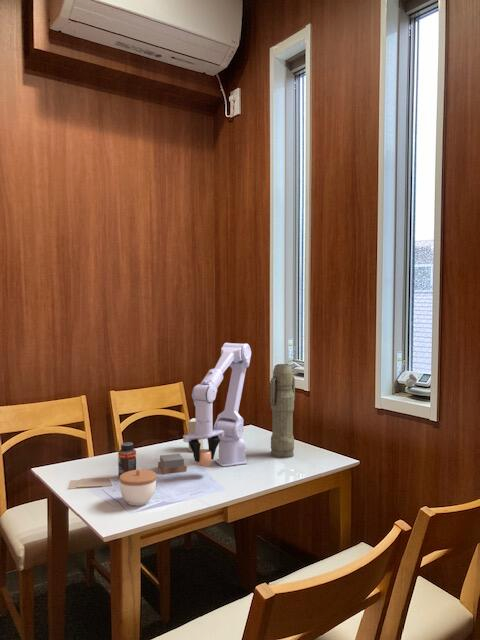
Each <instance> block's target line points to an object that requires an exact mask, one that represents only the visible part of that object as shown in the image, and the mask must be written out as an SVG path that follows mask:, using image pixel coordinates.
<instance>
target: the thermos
mask: <svg viewBox="0 0 480 640" xmlns="http://www.w3.org/2000/svg"><path fill="white" fill-rule="evenodd" d="M293 373H294V372H293V369H292V367H291V365H290V364H289V363H277V364H276V365H274V367H273V371H272V377H271V379H270V381H269V382H270V383H269V387H270V389H269V395H270V396H269V399H270V401H269V402H270V407H271V411H272V412H271V413H272V414H271V415H272V416H271V417H272V418H271V419H272V421H271V422H272V423H271V424H272V425H271V426H272V431H271V433H272V434H271V437H270V449H271V451H270V452H271V453H270V455H271V457H273V458H278V459H289V458H292V457H294V450H295V437H294V434H293V433H294V432H293V431H294V430H293V426H294V425H293V424H294V423H293V421H294V419H293V418H294V417H293V414H294V410H295V401H296V379H295V377H294V376H293Z"/></svg>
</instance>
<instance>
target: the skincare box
mask: <svg viewBox="0 0 480 640" xmlns="http://www.w3.org/2000/svg"><path fill="white" fill-rule="evenodd" d="M187 423H188V424H187V425H188V427H187V429H188V433H187V435H188V434H191V433H195V432H196V417H195V418H194V417H193V418H191V419H189V420H188V422H187ZM198 441H199V443H201V445H200V449H202V448H203V449H204V439H200V440H198ZM188 452H190V453H193V451H192V449H191V447H190V445H189V444H188Z"/></svg>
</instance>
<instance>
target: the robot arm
mask: <svg viewBox="0 0 480 640" xmlns="http://www.w3.org/2000/svg"><path fill="white" fill-rule="evenodd" d="M220 349H221V350H220V357H219V359H218V360H217V362H216V364H215V366H214V368H211V369H209V370H208V372H207V373H206V374H205V376H204V377H203V379H202V381H201V382H200V383H198V384H197V385H195V386H194V387H193V388H192V393H191V398H192V400H193V405H194V407H195V418H196V432H195V433H191V434H188V433H187V434H183V435H182V437H183V438H182V439H183V443H188V446H189V445H190V447H191V449H192V451H193V452H192V454H193V459H194V462H196V463H197V462H199V459H200V457H199V452H200V445H201V443H199V441H198V440H200V439H203V440H206V439H207V445H208V449H209V450H211V461H213V460H214V462H215V463H217V464H218V465H219V466H220V467H222V468H224V467H231V466H236V465H246V464H247V462H246V442H245V439H244V438H243V437H242V436H243V433H244V418H243V417H242V416H241V415H240V413H239V409H240V403H241V399H242V393H243V388H244V383H245V377H246V373H247V372H246V371H247V368H249V367H250V363H251V357H252V349H251V347H250V345H249V343H237V342H236V343H232V342H225V343H224V344H222V347H221V348H220ZM229 367H230V368H231V375H230V380H229V385H228V389H227V390H228V391H227V395H226V399H225V406H224V409H223V411H221V412H220V413H219V414H218V415H217V418H216V420H215V422H214V425H213V421H214V420H213V418H214V417H213V407H214V406H213V402H214V401H215V400H216V397H217V393H218V388H219V386H220V385H221V383H222V381H223V380H224V374H225V371H226V370H227V369H228V368H229ZM217 448H218V458H216V459H215V453H216V450H217Z"/></svg>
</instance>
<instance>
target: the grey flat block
mask: <svg viewBox="0 0 480 640" xmlns="http://www.w3.org/2000/svg"><path fill="white" fill-rule="evenodd" d="M159 462H160V463H161V465H162V466H163V468H172V467H181V466H184V464H185V459H184V457H183V456H182V455H181V454H180V453H171V454H162V455H161V454H160V455H159Z"/></svg>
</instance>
